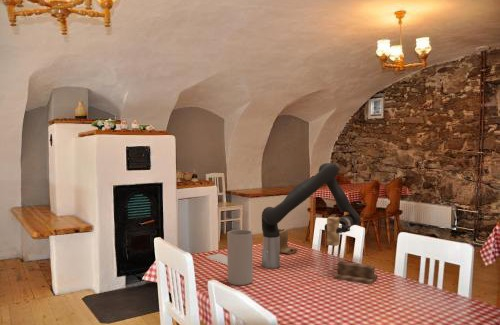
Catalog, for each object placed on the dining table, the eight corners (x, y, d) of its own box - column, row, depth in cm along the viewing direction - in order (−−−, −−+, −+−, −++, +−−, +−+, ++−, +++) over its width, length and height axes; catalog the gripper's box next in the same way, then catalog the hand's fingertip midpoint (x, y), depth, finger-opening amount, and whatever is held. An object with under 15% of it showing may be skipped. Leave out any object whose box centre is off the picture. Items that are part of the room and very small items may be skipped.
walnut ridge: (333, 278, 229) (333, 265, 229) (341, 272, 239) (341, 259, 239) (371, 284, 219) (371, 270, 219) (377, 277, 230) (377, 264, 229)
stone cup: (267, 252, 284) (267, 228, 283) (280, 248, 292) (280, 226, 291) (286, 256, 273) (285, 232, 272) (298, 253, 281) (298, 229, 281)
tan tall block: (327, 245, 233) (326, 218, 232) (330, 242, 237) (330, 216, 236) (336, 246, 230) (336, 219, 230) (339, 243, 235) (339, 217, 234)
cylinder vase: (256, 279, 228) (256, 231, 227) (246, 287, 217) (245, 235, 216) (234, 276, 233) (234, 229, 232) (223, 283, 222) (222, 233, 221)
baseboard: (235, 270, 247) (251, 266, 255) (235, 265, 247) (251, 261, 254) (202, 259, 270) (218, 255, 278) (202, 254, 270) (218, 251, 278)
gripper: (329, 217, 249) (318, 222, 234) (354, 219, 242) (345, 224, 227) (329, 230, 250) (318, 236, 235) (354, 232, 242) (345, 239, 228)
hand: (331, 230), depth 231 cm, fingers closed on tan tall block, 5 cm apart
